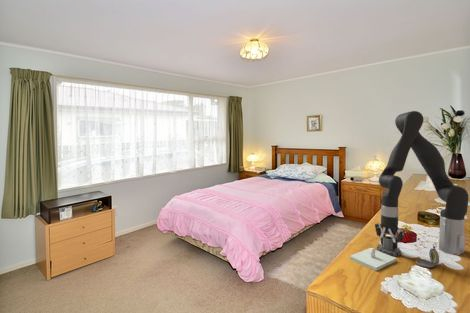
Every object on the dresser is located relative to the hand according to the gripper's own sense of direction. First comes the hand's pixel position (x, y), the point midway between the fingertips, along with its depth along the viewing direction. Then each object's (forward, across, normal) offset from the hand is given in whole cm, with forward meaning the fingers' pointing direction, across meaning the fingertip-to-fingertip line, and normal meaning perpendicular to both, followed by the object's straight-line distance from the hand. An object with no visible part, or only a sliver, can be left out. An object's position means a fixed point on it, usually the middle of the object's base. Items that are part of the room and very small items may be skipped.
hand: (388, 246), depth 130 cm
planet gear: (+2, 0, 0) cm, 2 cm away
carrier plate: (+2, -1, +15) cm, 15 cm away
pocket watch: (+3, -17, -1) cm, 17 cm away
